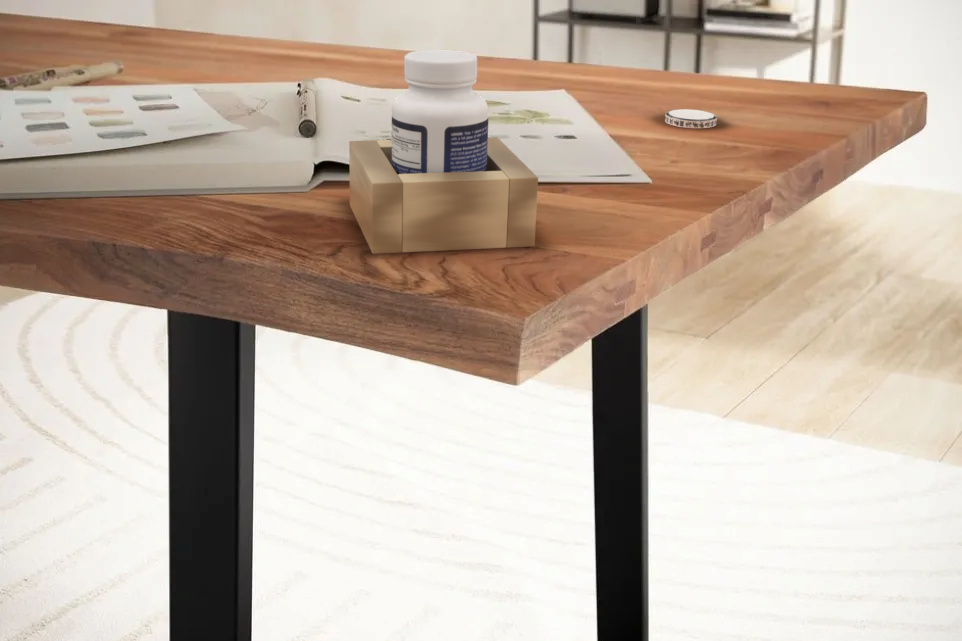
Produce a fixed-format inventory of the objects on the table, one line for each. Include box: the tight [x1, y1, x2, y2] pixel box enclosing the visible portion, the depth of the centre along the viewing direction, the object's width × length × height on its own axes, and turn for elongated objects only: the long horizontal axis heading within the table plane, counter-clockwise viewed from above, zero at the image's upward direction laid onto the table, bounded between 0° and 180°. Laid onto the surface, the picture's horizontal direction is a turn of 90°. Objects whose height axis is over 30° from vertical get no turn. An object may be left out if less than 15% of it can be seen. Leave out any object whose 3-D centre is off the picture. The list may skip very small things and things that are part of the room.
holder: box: [348, 136, 539, 254], centre depth 70 cm, size 9×9×4 cm
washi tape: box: [664, 108, 718, 129], centre depth 97 cm, size 4×4×1 cm
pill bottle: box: [391, 49, 489, 175], centre depth 69 cm, size 5×5×10 cm
